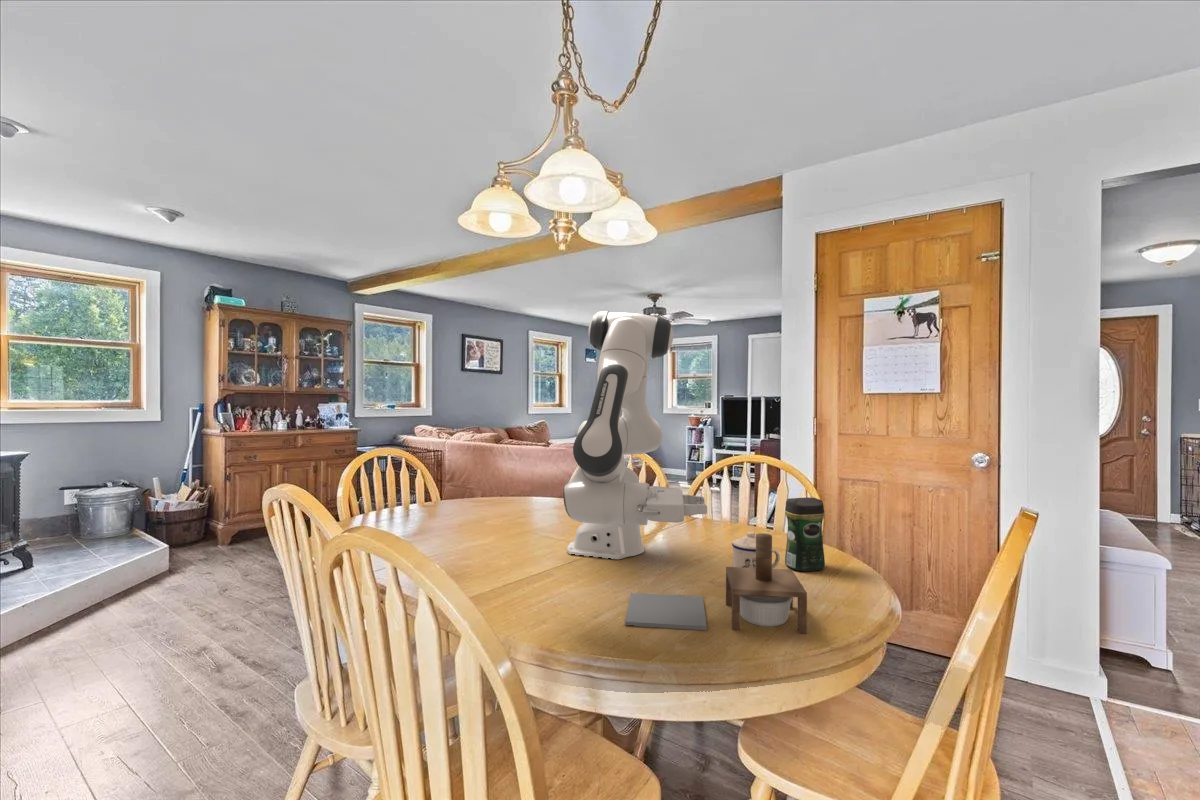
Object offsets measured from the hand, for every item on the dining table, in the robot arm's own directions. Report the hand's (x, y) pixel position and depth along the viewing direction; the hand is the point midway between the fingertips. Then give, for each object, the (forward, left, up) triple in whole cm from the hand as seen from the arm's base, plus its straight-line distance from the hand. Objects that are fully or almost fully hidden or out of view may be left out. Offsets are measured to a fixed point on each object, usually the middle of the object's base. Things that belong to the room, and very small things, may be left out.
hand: (705, 504), depth 116 cm
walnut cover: (+12, 0, -23) cm, 26 cm away
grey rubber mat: (-8, 0, -23) cm, 24 cm away
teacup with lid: (+14, +24, -23) cm, 36 cm away
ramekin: (+12, 0, -23) cm, 26 cm away
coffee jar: (+28, +35, -23) cm, 51 cm away
